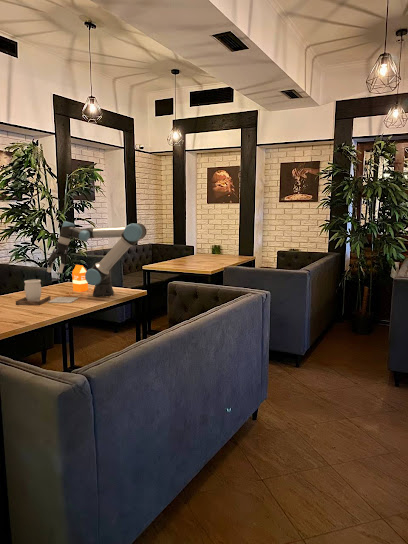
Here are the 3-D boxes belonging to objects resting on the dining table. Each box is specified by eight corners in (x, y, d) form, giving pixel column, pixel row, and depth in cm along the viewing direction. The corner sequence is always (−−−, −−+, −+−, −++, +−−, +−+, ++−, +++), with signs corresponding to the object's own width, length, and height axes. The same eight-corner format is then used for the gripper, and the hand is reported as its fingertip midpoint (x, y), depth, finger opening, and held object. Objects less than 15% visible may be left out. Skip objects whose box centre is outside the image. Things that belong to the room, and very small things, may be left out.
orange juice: (81, 289, 320) (80, 264, 317) (88, 290, 315) (87, 265, 312) (72, 290, 314) (71, 265, 311) (79, 291, 309) (78, 266, 306)
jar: (35, 304, 266) (34, 282, 264) (22, 303, 268) (20, 281, 266) (45, 300, 277) (44, 279, 275) (31, 300, 279) (30, 278, 277)
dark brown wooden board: (50, 299, 281) (50, 296, 280) (39, 305, 264) (39, 301, 263) (28, 299, 281) (28, 295, 281) (15, 304, 265) (15, 301, 264)
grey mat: (79, 298, 286) (79, 297, 286) (70, 303, 270) (70, 302, 270) (57, 297, 287) (57, 297, 287) (47, 302, 271) (47, 302, 271)
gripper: (68, 243, 293) (60, 271, 294) (47, 239, 269) (38, 270, 270) (77, 246, 291) (68, 274, 292) (57, 243, 267) (48, 273, 268)
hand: (54, 272), depth 281 cm, fingers open, 13 cm apart
